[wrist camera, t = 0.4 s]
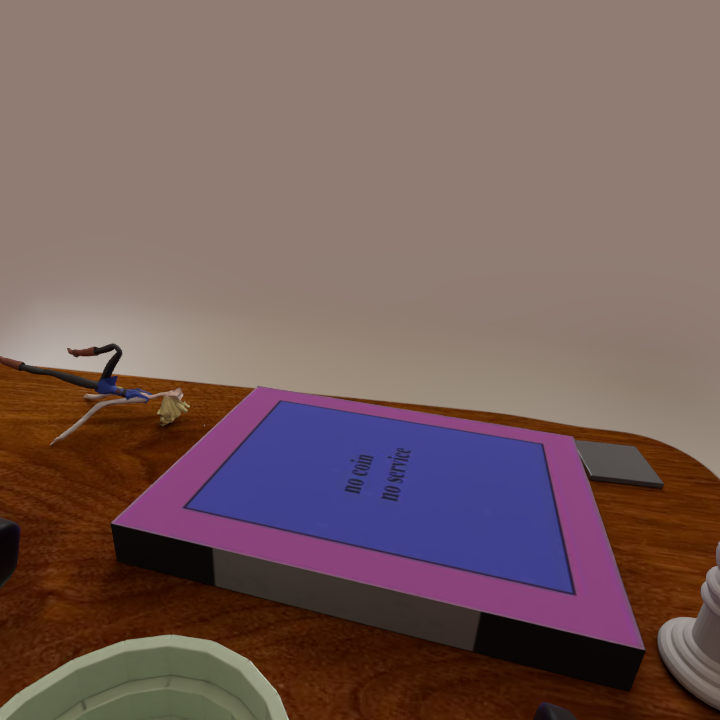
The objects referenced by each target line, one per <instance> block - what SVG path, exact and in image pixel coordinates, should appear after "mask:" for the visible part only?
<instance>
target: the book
mask: <svg viewBox="0 0 720 720" xmlns="http://www.w3.org/2000/svg"><path fill="white" fill-rule="evenodd" d="M111 528H112V534H113V540H114V546H115V551H116V557H117V561H119V562H123V563H126V564H130V565H134V566H138V567H142V568H146V569H150V570H154V571H158V572H162V573H166V574H170V575H174V576H177V577H181V578H185V579H189V580H193V581H197V582H201V583H205V584H209V585H213V586H217V587H221V588H225V589H229V590H232V591H236V592H240V593H244V594H248V595H252V596H256V597H260V598H264V599H268V600H272V601H276V602H280V603H283V604H287V605H291V606H295V607H299V608H303V609H307V610H311V611H315V612H319V613H323V614H327V615H331V616H335V617H338V618H342V619H346V620H350V621H354V622H358V623H362V624H366V625H370V626H374V627H378V628H382V629H386V630H389V631H393V632H397V633H401V634H405V635H409V636H413V637H417V638H421V639H425V640H429V641H433V642H437V643H440V644H444V645H448V646H452V647H456V648H460V649H464V650H468V651H472V652H476V653H480V654H484V655H488V656H492V657H495V658H499V659H503V660H507V661H511V662H515V663H519V664H523V665H527V666H531V667H535V668H539V669H543V670H546V671H550V672H554V673H558V674H562V675H566V676H570V677H574V678H578V679H582V680H586V681H590V682H594V683H597V684H601V685H605V686H609V687H613V688H617V689H621V690H625V691H629V692H630V689H631V687H632V684H633V681H634V679H635V676H636V674H637V671H638V669H639V666H640V664H641V661H642V659H643V656H644V654H645V651H646V649H645V646H644V643H643V641H642V638H641V635H640V632H639V629H638V626H637V623H636V620H635V617H634V614H633V611H632V608H631V605H630V602H629V599H628V596H627V593H626V590H625V587H624V585H623V582H622V579H621V576H620V573H619V570H618V567H617V564H616V561H615V558H614V555H613V552H612V549H611V546H610V543H609V540H608V537H607V534H606V531H605V529H604V526H603V523H602V520H601V517H600V514H599V511H598V508H597V505H596V502H595V499H594V496H593V493H592V490H591V487H590V484H589V481H588V478H587V475H586V473H585V470H584V467H583V464H582V461H581V458H580V455H579V452H578V449H577V446H576V443H575V440H574V437H571V436H565V435H559V434H553V433H547V432H540V431H534V430H528V429H522V428H515V427H509V426H503V425H497V424H491V423H484V422H478V421H472V420H466V419H460V418H453V417H447V416H441V415H435V414H428V413H422V412H416V411H410V410H404V409H397V408H391V407H385V406H379V405H373V404H366V403H360V402H354V401H348V400H342V399H335V398H329V397H323V396H317V395H310V394H304V393H298V392H292V391H286V390H279V389H273V388H267V387H260V386H258V387H256V388H255V389H254V390H253V391H252V392H251V393H250V394H249V395H248V396H247V397H246V398H245V399H244V400H242V401H241V402H240V403H239V404H238V405H237V406H236V407H235V408H234V409H233V410H232V411H231V412H230V413H228V414H227V415H226V416H225V417H224V418H223V419H222V420H221V421H220V422H219V423H218V424H217V425H216V426H215V427H213V428H212V429H211V430H210V431H209V432H208V433H207V434H206V435H205V436H204V437H203V438H202V439H201V440H200V441H198V442H197V443H196V444H195V445H194V446H193V447H192V448H191V449H190V450H189V451H188V452H187V453H186V454H184V455H183V456H182V457H181V458H180V459H179V460H178V461H177V462H176V463H175V464H174V465H173V466H172V467H171V468H169V469H168V470H167V471H166V472H165V473H164V474H163V475H162V476H161V477H160V478H159V479H158V480H157V481H155V482H154V483H153V484H152V485H151V486H150V487H149V488H148V489H147V490H146V491H145V492H144V493H143V494H142V495H140V496H139V497H138V498H137V499H136V500H135V501H134V502H133V503H132V504H131V505H130V506H129V507H128V508H126V509H125V510H124V511H123V512H122V513H121V514H120V515H119V516H118V517H117V518H116V519H115V520H114V521H113V522H111Z"/></svg>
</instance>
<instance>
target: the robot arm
mask: <svg viewBox="0 0 720 720" xmlns="http://www.w3.org/2000/svg"><path fill="white" fill-rule="evenodd" d="M19 540H20V527H19V525H18V524H17V523H16V522H13V521H10V520H7V519H4V518H1V517H0V588H1V587H2V586H3V585H4V584H5V583H6V582H7V581H8V580H9V578H10V577H11V576H12V574H13V572H14V570H15V568H16V565H17V560H18V550H19ZM533 720H577V719H576V718H575V716H574V715H573V714H572V713H571V712H570V711H569V710H567V709H565V708H562V707H559V706H556V705H553V704H550V703H547V702H545V703H541V704H540V706H539V707H538V709H537V711H536V714H535V716H534V719H533Z"/></svg>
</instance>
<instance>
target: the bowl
mask: <svg viewBox="0 0 720 720" xmlns="http://www.w3.org/2000/svg"><path fill="white" fill-rule="evenodd" d="M0 720H289V718H288V716H287V713H286V711H285V708H284V705H283V703H282V700H281V698H280V695H279V694H278V692H277V691H276V690H275V689H274V687H273V686H272V685H271V684H270V683H269V682H268V681H267V679H266V678H265V677H264V676H263V675H262V674H261V673H260V671H259V670H258V669H257V668H256V667H255V666H254V664H253V663H252V662H251V661H249V660H248V659H247V658H245V657H243V656H241V655H239V654H237V653H235V652H233V651H231V650H230V649H228V648H226V647H224V646H222V645H220V644H218V643H216V642H213V641H211V640H204V639H198V638H191V637H185V636H179V635H163V636H155V637H147V638H139V639H131V640H125V641H121V642H119V643H116V644H113V645H110V646H108V647H105V648H102V649H100V650H97V651H94V652H92V653H89V654H86V655H83V656H81V657H78V658H75V659H74V660H71V661H69V662H68V663H66V664H64V665H63V666H61V667H59V668H58V669H56V670H55V671H53V672H51V673H50V674H48V675H46V676H45V677H43V678H41V679H40V680H38V681H37V682H35V683H33V684H32V685H30V686H28V687H27V688H25V689H23V690H22V691H20V692H19V694H16V695H15V696H14V697H13V698H11V699H10V700H9V701H8V702H7V703H6V704H5V705H4V706H2V707H1V708H0Z"/></svg>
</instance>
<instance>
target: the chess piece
mask: <svg viewBox="0 0 720 720" xmlns="http://www.w3.org/2000/svg"><path fill="white" fill-rule="evenodd" d="M716 561H717V566H715V567H713V568H711V569H710V570H709V571H708V573H707V575H706V582H704V583H703V585H702V586H701V597H702V599H703V601H704V603H703V605H702V607H701V610H700V612H699V614H698V617H697V619H696V618H688V617H679V618H674V619H671V620H669V621H667V622H666V623H665V624H664V625H663V626H662V627H661V628H660V630H659V633H658V649H659V653H660V655H661V658H662V660H663V662H664V663H665V665H666V667H667V668H668V670H669V671H670V672H671V674H672V675H673V676H674V677H675V678H676V679H677V680H678V681H679V683H680V684H682V685H683V686H684V687H685V688H686V689H687V690H688V691H689V692H691V693H692V694H693V695H694V696H696V697H697V698H699V699H700V700H701V701H703V702H705V703H706V704H708V705H710V706H712V707H714V708H716V709H718V710H720V542H719V544H718V546H717V550H716Z"/></svg>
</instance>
